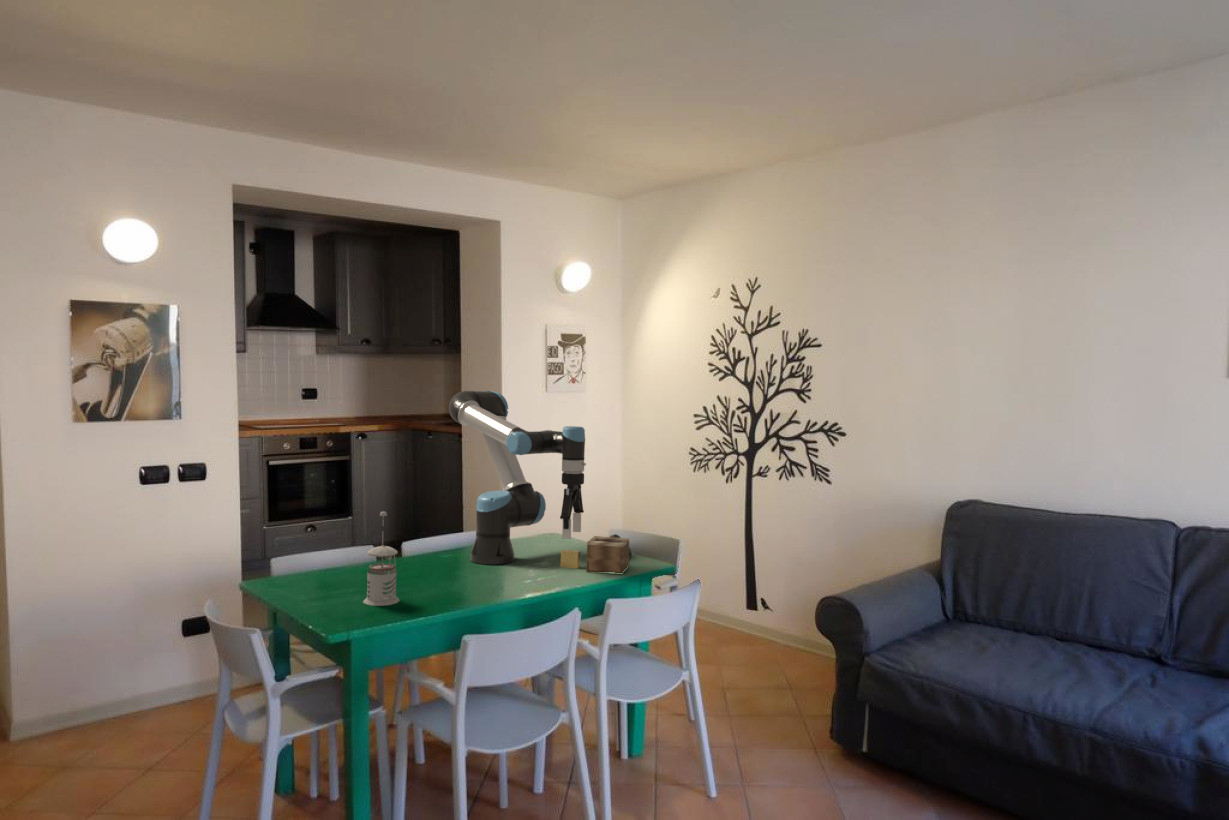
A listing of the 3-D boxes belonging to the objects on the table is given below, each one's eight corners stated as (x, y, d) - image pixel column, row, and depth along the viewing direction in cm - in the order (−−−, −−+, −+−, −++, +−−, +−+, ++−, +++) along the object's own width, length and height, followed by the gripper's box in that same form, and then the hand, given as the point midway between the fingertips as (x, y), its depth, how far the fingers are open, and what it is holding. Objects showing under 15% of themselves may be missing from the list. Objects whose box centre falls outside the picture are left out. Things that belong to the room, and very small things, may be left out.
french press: (356, 604, 225) (358, 513, 224) (376, 593, 236) (378, 507, 235) (390, 607, 223) (392, 515, 222) (408, 596, 234) (410, 509, 233)
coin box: (586, 572, 271) (587, 542, 270) (593, 565, 281) (594, 536, 281) (622, 575, 268) (623, 544, 268) (628, 567, 279) (629, 538, 279)
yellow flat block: (560, 567, 277) (560, 551, 277) (562, 565, 279) (562, 549, 279) (577, 568, 276) (578, 552, 275) (579, 567, 278) (580, 550, 278)
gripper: (574, 476, 263) (573, 542, 264) (592, 469, 288) (591, 529, 288) (552, 475, 265) (550, 541, 265) (571, 468, 289) (570, 528, 290)
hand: (571, 535), depth 277 cm, fingers open, 13 cm apart
